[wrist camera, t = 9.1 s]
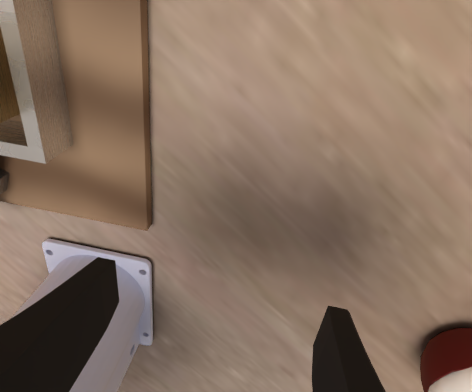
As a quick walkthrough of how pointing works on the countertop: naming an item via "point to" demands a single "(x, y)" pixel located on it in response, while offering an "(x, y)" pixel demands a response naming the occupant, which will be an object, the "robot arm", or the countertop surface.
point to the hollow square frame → (34, 82)
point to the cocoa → (448, 362)
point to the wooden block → (6, 87)
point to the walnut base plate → (97, 119)
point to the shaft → (3, 180)
